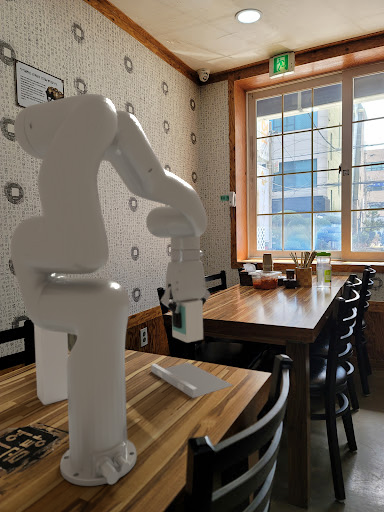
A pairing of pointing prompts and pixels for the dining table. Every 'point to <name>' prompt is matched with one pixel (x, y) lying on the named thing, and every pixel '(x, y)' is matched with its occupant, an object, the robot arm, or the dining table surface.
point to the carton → (190, 321)
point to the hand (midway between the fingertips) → (187, 324)
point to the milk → (51, 365)
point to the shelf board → (190, 379)
